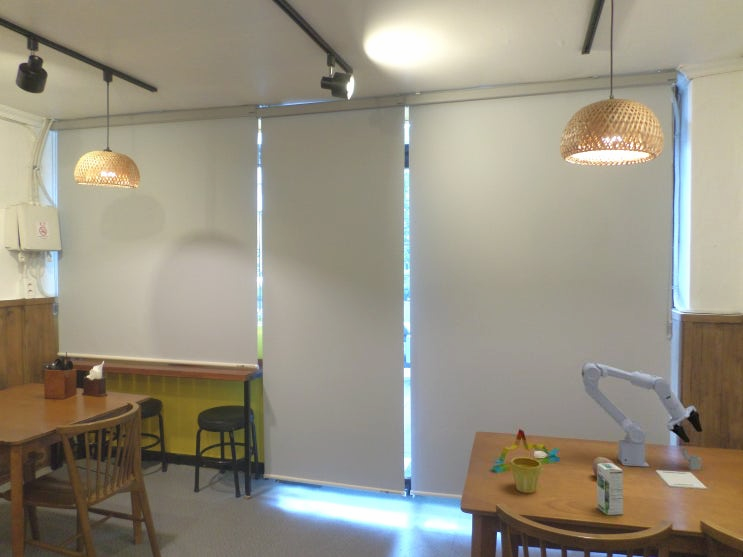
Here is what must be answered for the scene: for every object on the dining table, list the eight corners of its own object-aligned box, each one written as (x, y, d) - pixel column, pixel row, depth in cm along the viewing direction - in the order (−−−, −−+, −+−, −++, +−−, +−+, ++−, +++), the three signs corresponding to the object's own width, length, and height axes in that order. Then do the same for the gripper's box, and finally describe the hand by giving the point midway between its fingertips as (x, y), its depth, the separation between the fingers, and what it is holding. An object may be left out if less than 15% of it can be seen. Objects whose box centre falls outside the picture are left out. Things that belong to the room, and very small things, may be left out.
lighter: (698, 467, 192) (698, 447, 192) (701, 469, 190) (701, 449, 190) (680, 468, 192) (680, 447, 192) (683, 470, 190) (682, 449, 190)
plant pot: (541, 485, 179) (541, 458, 179) (541, 497, 169) (541, 469, 169) (512, 481, 182) (511, 455, 182) (510, 493, 172) (509, 465, 172)
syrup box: (596, 507, 161) (595, 463, 161) (613, 506, 161) (613, 462, 161) (606, 515, 155) (605, 470, 155) (624, 514, 156) (623, 469, 156)
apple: (618, 484, 178) (617, 462, 178) (595, 482, 180) (595, 461, 180) (612, 475, 186) (611, 454, 186) (590, 474, 187) (590, 453, 187)
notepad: (669, 486, 175) (669, 485, 175) (655, 471, 189) (655, 470, 189) (706, 489, 173) (706, 487, 173) (690, 473, 186) (690, 472, 186)
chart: (554, 459, 204) (553, 423, 204) (559, 461, 201) (559, 425, 201) (492, 470, 194) (491, 432, 194) (497, 473, 191) (496, 435, 191)
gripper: (668, 414, 187) (689, 446, 185) (693, 395, 192) (714, 426, 190) (655, 415, 194) (675, 446, 192) (679, 396, 198) (699, 426, 196)
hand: (693, 436), depth 191 cm, fingers open, 7 cm apart
